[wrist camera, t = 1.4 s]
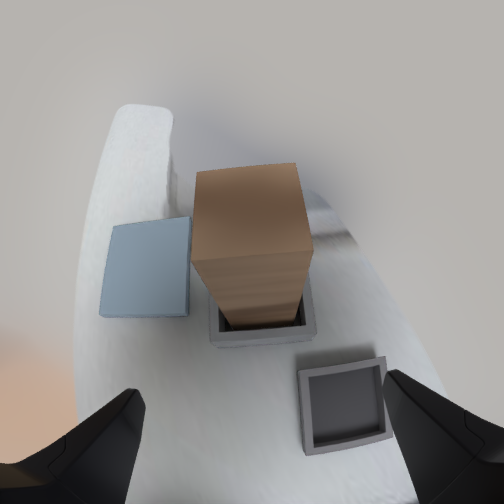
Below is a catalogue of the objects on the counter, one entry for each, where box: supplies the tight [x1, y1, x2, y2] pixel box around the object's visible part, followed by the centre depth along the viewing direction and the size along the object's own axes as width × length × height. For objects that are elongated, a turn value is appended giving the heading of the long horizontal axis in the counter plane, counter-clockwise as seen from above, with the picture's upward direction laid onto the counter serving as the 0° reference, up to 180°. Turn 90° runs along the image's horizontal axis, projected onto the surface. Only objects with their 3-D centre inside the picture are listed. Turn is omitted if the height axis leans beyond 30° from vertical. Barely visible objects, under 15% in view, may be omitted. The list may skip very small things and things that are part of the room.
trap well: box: [297, 356, 393, 456], centre depth 19 cm, size 7×7×2 cm
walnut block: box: [191, 163, 314, 330], centre depth 18 cm, size 5×5×14 cm
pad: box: [99, 216, 192, 317], centre depth 26 cm, size 10×9×1 cm
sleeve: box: [209, 274, 317, 348], centre depth 23 cm, size 8×8×3 cm
